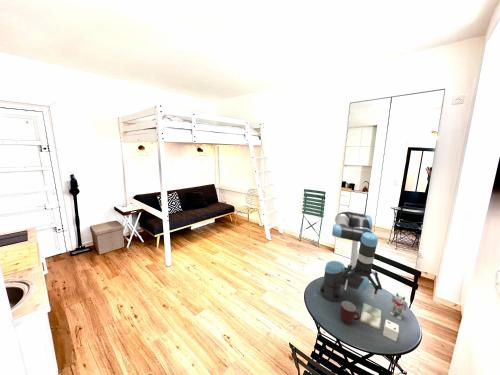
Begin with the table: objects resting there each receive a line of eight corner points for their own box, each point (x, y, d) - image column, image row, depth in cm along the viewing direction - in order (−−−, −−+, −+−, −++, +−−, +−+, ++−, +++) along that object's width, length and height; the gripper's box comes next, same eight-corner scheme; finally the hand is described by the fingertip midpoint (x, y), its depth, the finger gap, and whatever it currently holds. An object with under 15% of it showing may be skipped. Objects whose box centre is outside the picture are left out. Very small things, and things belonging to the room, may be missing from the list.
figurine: (385, 309, 129) (390, 289, 126) (397, 310, 129) (403, 290, 126) (394, 320, 122) (399, 299, 118) (407, 320, 122) (412, 300, 118)
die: (383, 335, 112) (385, 326, 110) (383, 327, 116) (385, 319, 115) (396, 341, 108) (398, 332, 107) (396, 333, 113) (398, 324, 111)
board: (360, 320, 120) (360, 319, 120) (363, 304, 133) (363, 302, 133) (379, 330, 115) (380, 328, 114) (380, 311, 128) (381, 310, 127)
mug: (356, 318, 122) (359, 304, 120) (359, 329, 114) (362, 314, 112) (337, 312, 125) (340, 299, 123) (339, 323, 117) (342, 309, 115)
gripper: (339, 257, 112) (334, 289, 117) (393, 271, 101) (384, 306, 106) (340, 250, 118) (335, 281, 124) (391, 264, 108) (383, 296, 113)
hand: (358, 293), depth 115 cm, fingers open, 13 cm apart
